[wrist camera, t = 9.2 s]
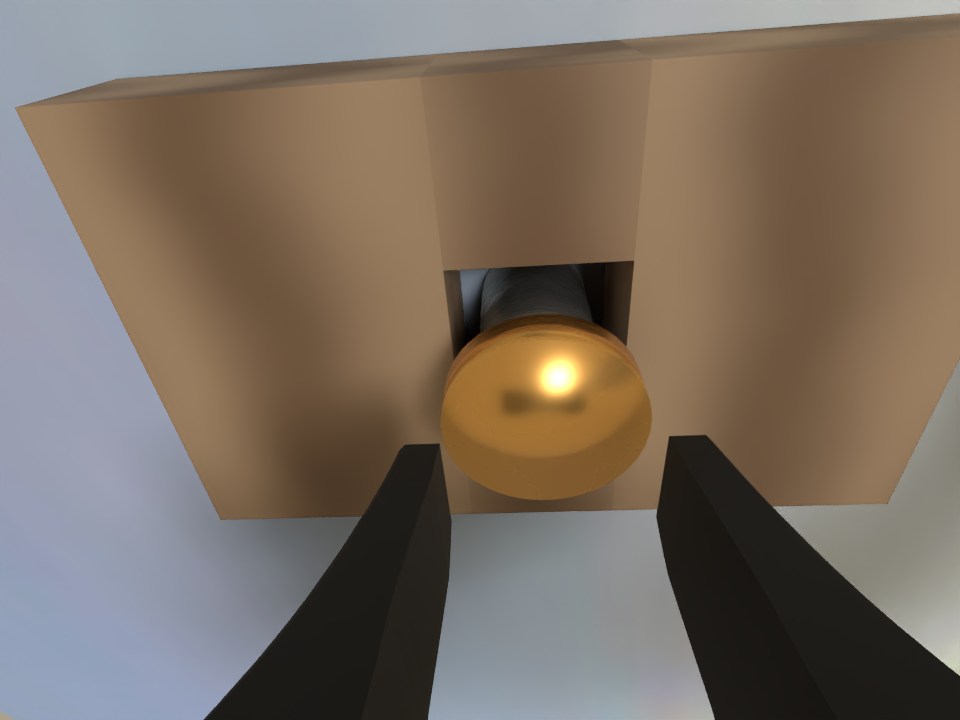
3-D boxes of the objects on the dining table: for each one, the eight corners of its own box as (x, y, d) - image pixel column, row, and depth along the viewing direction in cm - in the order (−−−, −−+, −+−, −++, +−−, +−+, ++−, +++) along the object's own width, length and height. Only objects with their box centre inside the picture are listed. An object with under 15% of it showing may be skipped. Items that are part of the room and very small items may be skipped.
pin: (628, 240, 16) (686, 363, 11) (582, 366, 18) (611, 513, 13) (474, 208, 15) (460, 321, 10) (447, 341, 18) (426, 482, 13)
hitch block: (981, 11, 12) (1125, 24, 10) (829, 423, 19) (887, 503, 16) (116, 79, 14) (15, 107, 11) (260, 442, 21) (220, 519, 18)
